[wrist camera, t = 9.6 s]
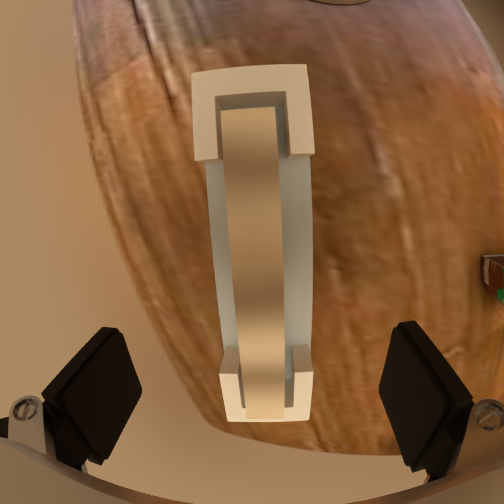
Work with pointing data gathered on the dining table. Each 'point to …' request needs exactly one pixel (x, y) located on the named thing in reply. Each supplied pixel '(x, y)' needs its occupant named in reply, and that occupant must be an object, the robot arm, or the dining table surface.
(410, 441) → the robot arm
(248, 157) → the slat
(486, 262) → the food container
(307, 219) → the frame
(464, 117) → the dining table surface
